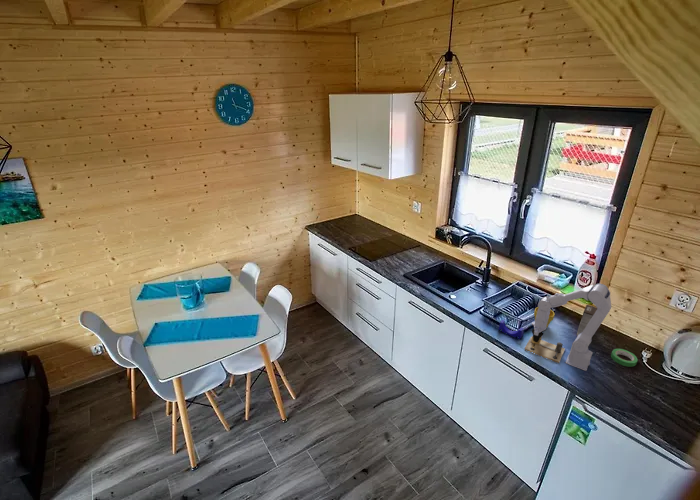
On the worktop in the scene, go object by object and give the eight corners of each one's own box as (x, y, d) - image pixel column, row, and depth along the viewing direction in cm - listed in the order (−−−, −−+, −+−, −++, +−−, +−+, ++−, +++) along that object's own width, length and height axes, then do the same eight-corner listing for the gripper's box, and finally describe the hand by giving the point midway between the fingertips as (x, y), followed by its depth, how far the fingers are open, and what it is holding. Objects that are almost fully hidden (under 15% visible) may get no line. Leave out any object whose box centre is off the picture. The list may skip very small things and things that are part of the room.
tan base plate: (564, 350, 209) (567, 340, 207) (558, 363, 200) (561, 354, 197) (531, 337, 219) (533, 328, 216) (524, 349, 209) (526, 340, 207)
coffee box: (579, 327, 227) (586, 304, 220) (592, 332, 223) (599, 308, 217) (575, 335, 221) (583, 311, 214) (588, 340, 217) (596, 315, 210)
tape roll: (633, 355, 206) (635, 351, 205) (638, 369, 197) (640, 365, 196) (609, 350, 210) (610, 346, 209) (612, 363, 201) (614, 359, 200)
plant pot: (552, 324, 230) (556, 310, 226) (549, 333, 222) (553, 319, 218) (533, 318, 235) (536, 304, 231) (529, 327, 227) (533, 312, 223)
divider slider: (540, 342, 213) (543, 333, 210) (536, 350, 207) (538, 341, 204) (532, 339, 215) (535, 330, 212) (528, 347, 209) (530, 338, 206)
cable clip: (522, 336, 220) (524, 327, 218) (519, 339, 217) (521, 331, 215) (501, 327, 227) (503, 318, 225) (498, 330, 224) (500, 322, 222)
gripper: (537, 309, 213) (532, 330, 219) (530, 322, 203) (524, 343, 209) (551, 314, 209) (546, 335, 215) (544, 327, 199) (538, 348, 205)
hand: (536, 339), depth 212 cm, fingers closed on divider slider, 3 cm apart
